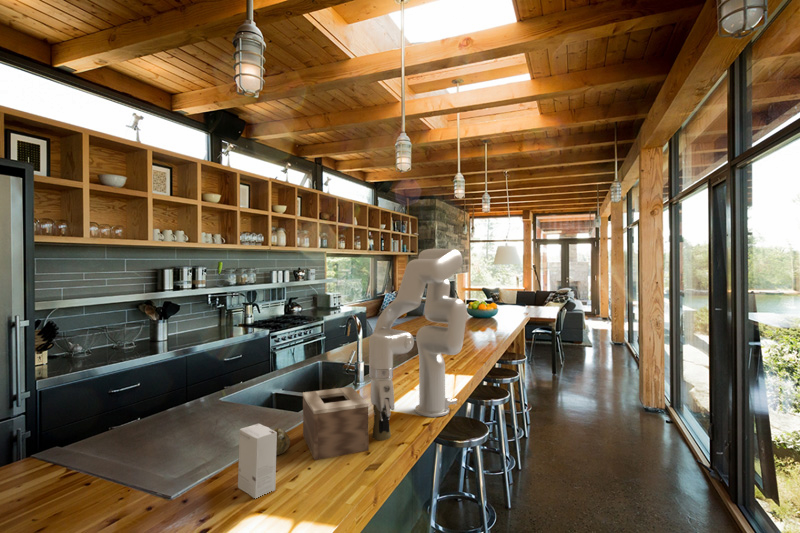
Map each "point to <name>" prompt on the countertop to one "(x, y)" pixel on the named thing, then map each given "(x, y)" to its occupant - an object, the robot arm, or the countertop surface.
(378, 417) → the brown rounded upright piece
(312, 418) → the drop box
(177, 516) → the countertop surface
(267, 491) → the skincare box
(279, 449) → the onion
